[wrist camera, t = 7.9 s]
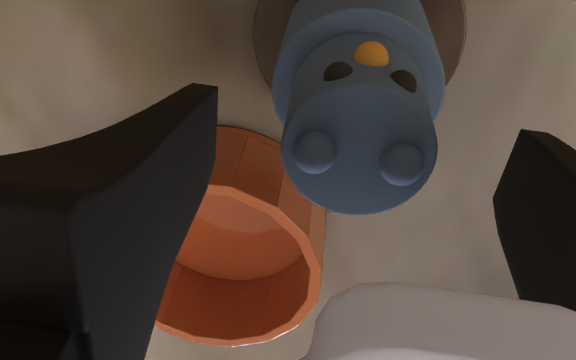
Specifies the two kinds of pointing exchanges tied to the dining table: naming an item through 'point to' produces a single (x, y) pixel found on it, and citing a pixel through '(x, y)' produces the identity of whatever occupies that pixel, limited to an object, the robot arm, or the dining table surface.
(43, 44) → the dining table surface
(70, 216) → the robot arm
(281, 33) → the coaster
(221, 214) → the orange bowl
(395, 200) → the owl
